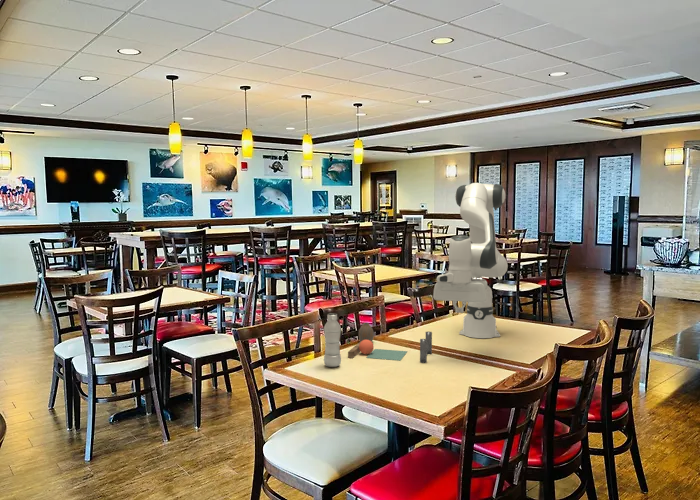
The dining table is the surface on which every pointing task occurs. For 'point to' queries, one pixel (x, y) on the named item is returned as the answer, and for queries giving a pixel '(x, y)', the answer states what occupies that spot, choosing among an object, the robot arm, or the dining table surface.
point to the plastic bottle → (332, 341)
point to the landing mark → (387, 354)
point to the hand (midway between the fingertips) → (459, 312)
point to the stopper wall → (354, 351)
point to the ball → (366, 346)
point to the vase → (366, 332)
